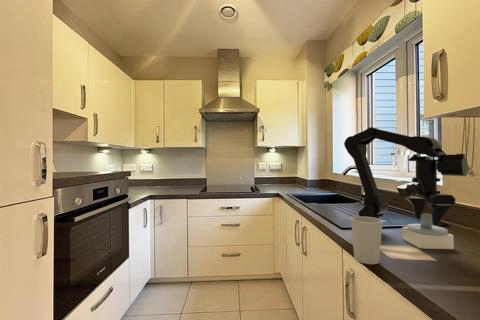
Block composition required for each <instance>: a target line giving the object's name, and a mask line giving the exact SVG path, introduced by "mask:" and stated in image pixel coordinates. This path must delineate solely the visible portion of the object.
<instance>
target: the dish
mask: <svg viewBox="0 0 480 320" xmlns="http://www.w3.org/2000/svg"><path fill="white" fill-rule="evenodd" d="M402 240H404V241H405V242H408V243H409V244H411V245H412V246H413V247H415V248H417V249H426V250H427V249H429V250H432V249H433V250H455V249H454V243H455V242H454V235H453V234H451V233H448V234H447V235H443V236H434V235H425V234H419V233H415V232H411V231H409V230H407V226H402Z"/></svg>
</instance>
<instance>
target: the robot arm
mask: <svg viewBox="0 0 480 320" xmlns="http://www.w3.org/2000/svg"><path fill="white" fill-rule="evenodd" d="M374 140H380V141H384V142H387V143H392V144H394V145H398V146H402V147H404V148H406V149H408V150H409V151H412V152H414V154H413V155H412V156H411V157H409V158H408V162H415V177H412V178H411V182H406V183H404V184H401V185H399V186H396V190H397V192H398V195H399V197H403V198H404V199H405V200H407V201H408V202H409V203H410V205H411V208H412V211H413V213H414V216H415V219H420V220H421V213H423V211H424V208H425V204H426V205H427V207H429V208H430V212H431V214H432V225H434V226H438V225H439V223H440V222H441V221H442V219H443V218H444V216H445V214H446V213H447V212H448V210H449V209H450V208H452V207H453V206H454V205H456V197H455V196H454V195H453V194H449V193H448V194H447V193H441V191H440V190H438V185H437V184H438V183H439V182H441V178H438V176H437V175H438V173H440V175H441V176H447V177H448V176H451V177H452V176H453V177H467V175H468V173H469V164H468V160H467V158H466V153H456V154H447V153H446V152H445V151H444V150H443V148H441V147H440V142H439V141H438V139H436V138H434V137H429V136H416V135H407V134H402V133H398V132H393V131H391V130H390V131H389V130H385V129H380V128H378V127H372V126H370V127H368V128H366V129H365V130H362V131H361V132H358V133H355V134H353V135H350V136H348V137H346V138H345V141H344V142H343V146H344V148H345V149H346V151H347V153H348V155H349V156H351V158H352V160H353V161H354V164H355V167H356V170H357V175H358V176H359V177H358V178H359V179H360V183H361V186H362V188H363V192H364V194H363V195H364V197H363V204H364V207H363V208H362V209H360V210H359V211H358V212H357V213H358V215H359V216H362V217H373V218H377V219H380V220H381V218H382V217H383V218H384V215H385V213H386V212H387V211H388V210H389V204H390V202H389V201H388V199H387V195H386V193H381V192H380V191H379V189H378V187H377V184H376V181H375V178H374V174H373V172H372V170H371V167H370V163H369V161H368V158H367V152H368V145H370V144H371V143H372V142H373V141H374ZM420 155H422V156H420ZM423 155H425V156H423ZM431 158H438V159H431ZM437 172H438V173H437ZM426 202H427V203H426Z"/></svg>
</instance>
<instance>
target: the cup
mask: <svg viewBox="0 0 480 320" xmlns="http://www.w3.org/2000/svg"><path fill="white" fill-rule="evenodd" d="M383 222H384V221H383V220H382V219H381V218H380V219H377V218H373V217H362V216H351V218H350V223H351V234H352V235H351V236H352V246H353V258H354V261H357V262H359V263H361V264H366V265H377V264H379V263H380V257H381V256H380V253H381V251H380V245H382V234H383V232H382V230H383Z"/></svg>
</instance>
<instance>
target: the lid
mask: <svg viewBox="0 0 480 320" xmlns="http://www.w3.org/2000/svg"><path fill="white" fill-rule="evenodd" d="M406 227H407V230H409V231H411V232H415V233H419V234H425V235H434V236H443V235H447V234H449V233H448V232H449V231H448V229H447V228H444V227H441V226H438V225H433V222H432V214H430V213H425V212H424V213H423V212H422V213H421V217H420V223H409V224H406Z"/></svg>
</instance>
